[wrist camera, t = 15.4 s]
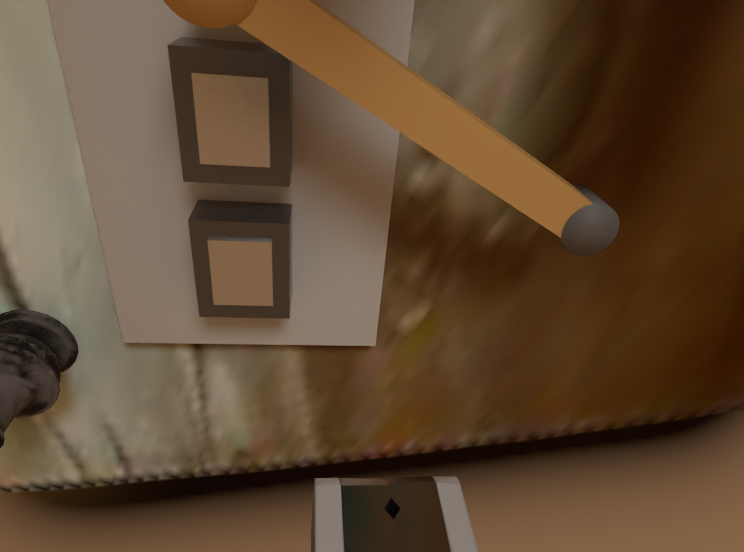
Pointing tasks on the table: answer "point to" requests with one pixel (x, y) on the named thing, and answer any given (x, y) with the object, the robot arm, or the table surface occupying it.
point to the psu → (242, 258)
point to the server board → (177, 198)
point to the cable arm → (415, 111)
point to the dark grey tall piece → (31, 363)
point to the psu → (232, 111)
